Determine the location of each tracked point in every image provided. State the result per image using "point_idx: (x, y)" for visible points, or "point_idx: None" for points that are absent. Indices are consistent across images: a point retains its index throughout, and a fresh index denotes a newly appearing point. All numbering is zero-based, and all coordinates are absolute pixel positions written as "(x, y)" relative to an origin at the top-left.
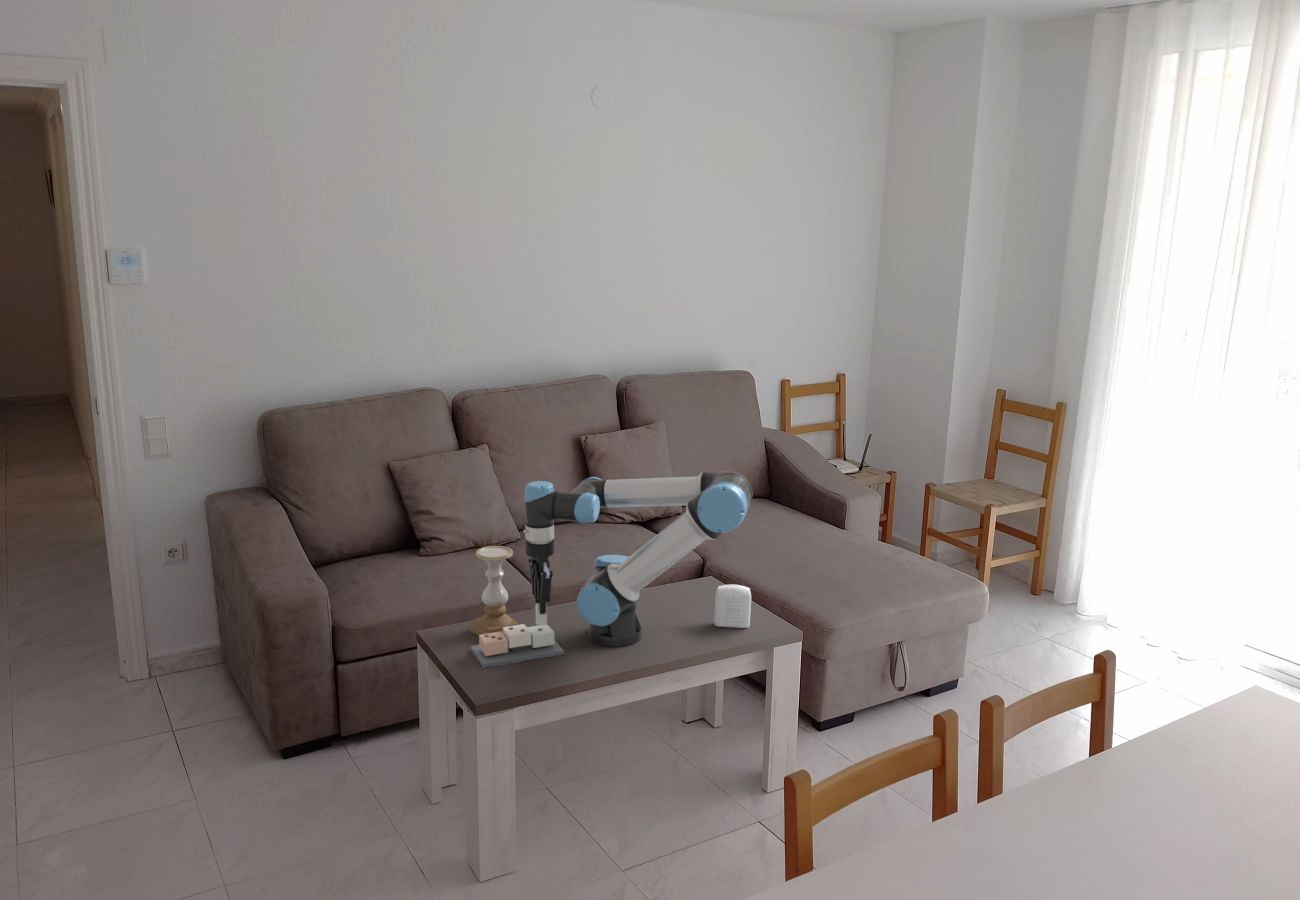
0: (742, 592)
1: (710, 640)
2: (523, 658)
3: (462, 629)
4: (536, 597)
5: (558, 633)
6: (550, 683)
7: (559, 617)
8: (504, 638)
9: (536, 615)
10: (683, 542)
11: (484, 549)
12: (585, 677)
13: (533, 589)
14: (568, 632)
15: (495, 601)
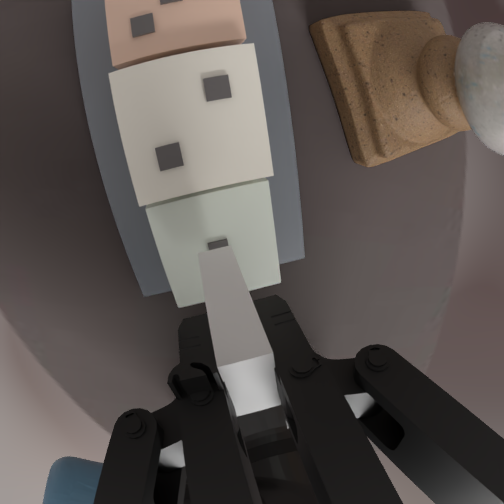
0: None
1: None
2: (95, 142)
3: (422, 2)
4: (281, 385)
5: (319, 281)
6: None
7: (409, 285)
8: (138, 48)
9: (222, 279)
10: None
11: None
12: (10, 322)
13: (385, 400)
14: (315, 307)
15: (471, 59)
